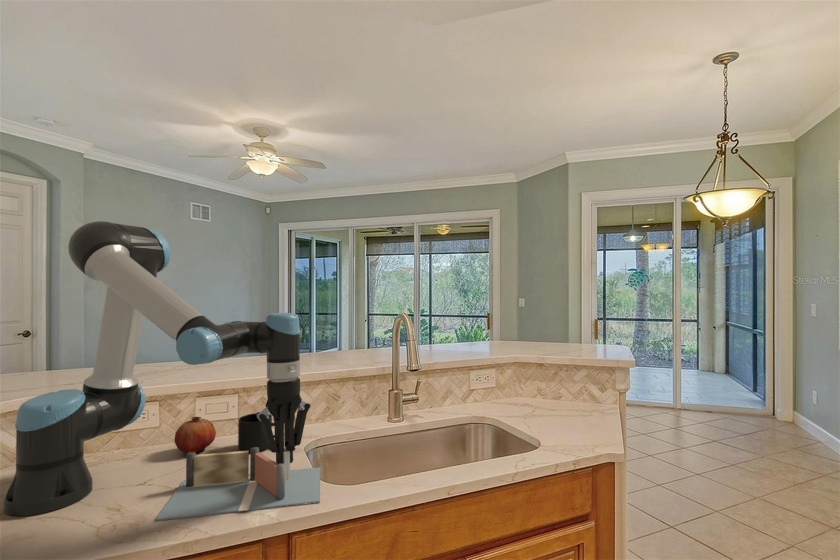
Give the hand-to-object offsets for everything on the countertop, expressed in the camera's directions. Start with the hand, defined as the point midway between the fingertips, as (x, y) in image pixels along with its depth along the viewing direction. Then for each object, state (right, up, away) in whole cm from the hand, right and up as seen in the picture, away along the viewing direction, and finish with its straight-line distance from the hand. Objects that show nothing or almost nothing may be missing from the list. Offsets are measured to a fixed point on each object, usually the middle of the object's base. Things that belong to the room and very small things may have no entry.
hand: (284, 478), depth 99 cm
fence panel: (-4, -2, 0) cm, 4 cm away
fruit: (-34, -4, +24) cm, 42 cm away
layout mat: (-9, -3, 0) cm, 9 cm away
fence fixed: (-16, -3, +4) cm, 17 cm away
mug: (-16, -4, +27) cm, 32 cm away
